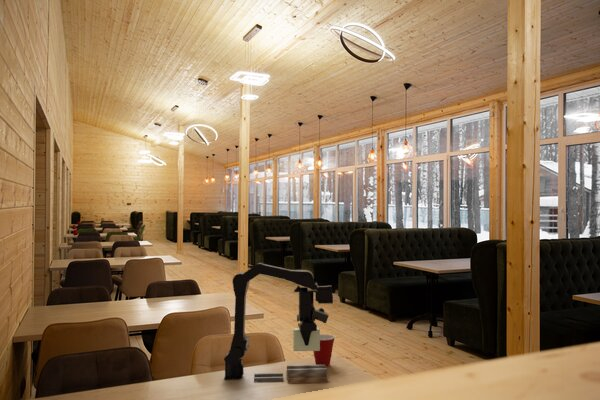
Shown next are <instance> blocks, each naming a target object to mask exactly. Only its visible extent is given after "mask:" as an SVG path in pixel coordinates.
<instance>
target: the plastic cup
mask: <svg viewBox="0 0 600 400" xmlns="http://www.w3.org/2000/svg"><path fill="white" fill-rule="evenodd" d="M335 339H336V335H333V334H320V351H312V352H313V357H314V362H315V365H325V366H328V365H329V366H330V364H331V359H332V354H333V347H334V342H335ZM329 366H328V367H329Z"/></svg>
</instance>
